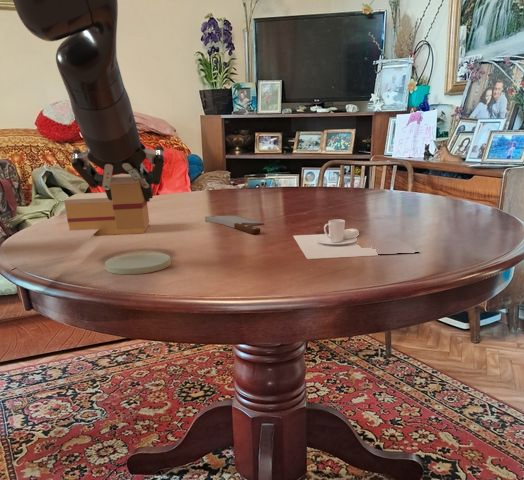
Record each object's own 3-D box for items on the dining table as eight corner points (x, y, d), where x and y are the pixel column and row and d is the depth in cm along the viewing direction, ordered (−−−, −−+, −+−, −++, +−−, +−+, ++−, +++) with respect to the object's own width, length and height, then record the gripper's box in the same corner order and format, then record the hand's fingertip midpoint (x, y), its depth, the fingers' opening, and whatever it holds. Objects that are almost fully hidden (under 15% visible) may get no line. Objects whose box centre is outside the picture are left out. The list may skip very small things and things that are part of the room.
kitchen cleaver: (285, 227, 111) (244, 230, 106) (285, 231, 111) (244, 235, 107) (238, 213, 131) (201, 215, 126) (238, 217, 131) (202, 220, 127)
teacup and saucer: (355, 236, 102) (356, 215, 101) (365, 245, 95) (366, 223, 93) (312, 238, 102) (312, 218, 100) (319, 247, 95) (319, 225, 93)
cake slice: (116, 230, 82) (108, 178, 79) (122, 223, 87) (115, 174, 84) (145, 228, 82) (138, 176, 79) (149, 222, 88) (143, 173, 84)
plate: (99, 276, 82) (98, 270, 82) (112, 259, 92) (111, 254, 92) (168, 272, 83) (167, 266, 82) (173, 256, 93) (172, 250, 92)
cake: (70, 236, 113) (63, 199, 110) (81, 228, 122) (75, 193, 119) (143, 233, 114) (138, 196, 111) (149, 225, 123) (144, 190, 120)
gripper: (158, 94, 71) (174, 178, 87) (53, 98, 70) (88, 182, 86) (159, 136, 68) (175, 214, 84) (49, 141, 67) (87, 219, 83)
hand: (131, 197), depth 85 cm, fingers closed on cake slice, 4 cm apart
